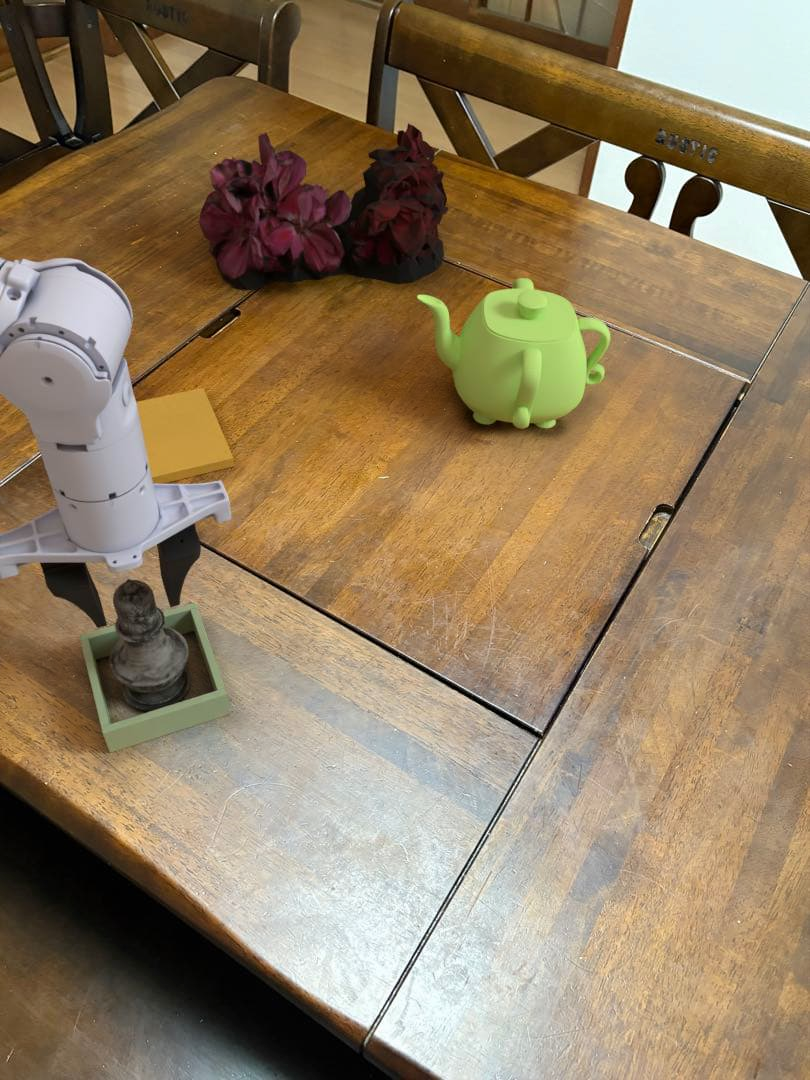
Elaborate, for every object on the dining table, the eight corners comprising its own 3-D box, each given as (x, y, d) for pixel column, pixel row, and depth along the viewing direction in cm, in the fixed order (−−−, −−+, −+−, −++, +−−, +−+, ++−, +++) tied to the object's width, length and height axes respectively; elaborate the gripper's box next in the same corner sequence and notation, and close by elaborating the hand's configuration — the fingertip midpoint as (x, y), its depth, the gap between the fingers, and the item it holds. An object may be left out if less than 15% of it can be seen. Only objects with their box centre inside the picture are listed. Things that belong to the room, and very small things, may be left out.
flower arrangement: (413, 198, 124) (422, 84, 112) (479, 277, 112) (495, 159, 101) (186, 236, 114) (170, 116, 103) (233, 327, 103) (220, 203, 91)
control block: (88, 510, 84) (81, 487, 81) (65, 426, 91) (58, 403, 88) (237, 473, 88) (235, 451, 85) (204, 396, 95) (201, 373, 93)
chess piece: (120, 721, 69) (86, 619, 61) (115, 662, 73) (82, 557, 65) (199, 705, 71) (175, 602, 62) (190, 647, 75) (167, 543, 66)
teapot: (494, 471, 90) (513, 370, 81) (407, 392, 97) (415, 290, 88) (608, 411, 97) (638, 311, 88) (519, 341, 104) (538, 242, 95)
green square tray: (109, 753, 68) (102, 733, 66) (86, 656, 73) (78, 634, 71) (230, 714, 71) (227, 693, 68) (199, 623, 76) (195, 601, 74)
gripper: (-24, 548, 49) (37, 682, 60) (237, 483, 54) (252, 619, 64) (-38, 462, 54) (21, 601, 64) (205, 408, 58) (224, 547, 68)
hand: (136, 605), depth 64 cm, fingers open, 4 cm apart
